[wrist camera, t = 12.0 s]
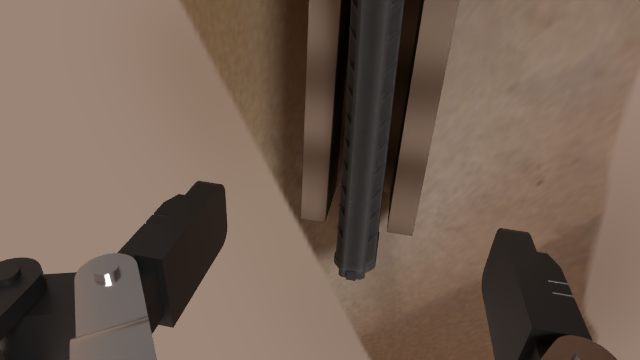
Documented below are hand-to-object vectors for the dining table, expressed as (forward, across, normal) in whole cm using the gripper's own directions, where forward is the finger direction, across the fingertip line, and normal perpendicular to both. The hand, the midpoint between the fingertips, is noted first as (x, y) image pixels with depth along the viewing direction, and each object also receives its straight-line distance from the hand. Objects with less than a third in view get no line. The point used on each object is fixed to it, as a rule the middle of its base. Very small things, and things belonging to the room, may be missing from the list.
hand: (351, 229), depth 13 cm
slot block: (+25, +1, +1) cm, 25 cm away
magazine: (+24, +1, +2) cm, 24 cm away
